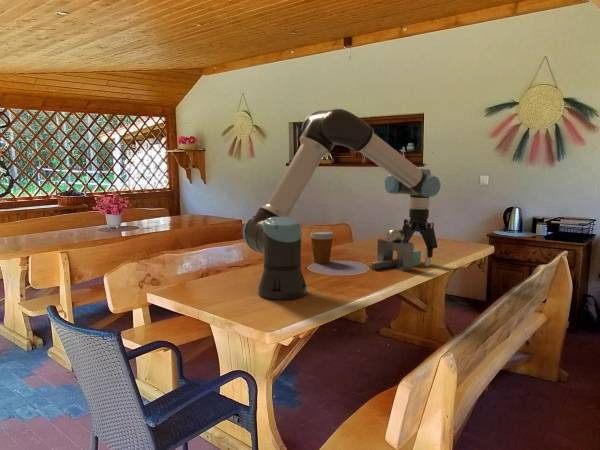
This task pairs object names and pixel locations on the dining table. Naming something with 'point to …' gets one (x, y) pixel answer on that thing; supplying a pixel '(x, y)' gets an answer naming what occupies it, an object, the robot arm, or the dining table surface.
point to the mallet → (394, 262)
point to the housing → (398, 245)
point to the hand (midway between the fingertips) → (416, 262)
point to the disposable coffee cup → (321, 245)
